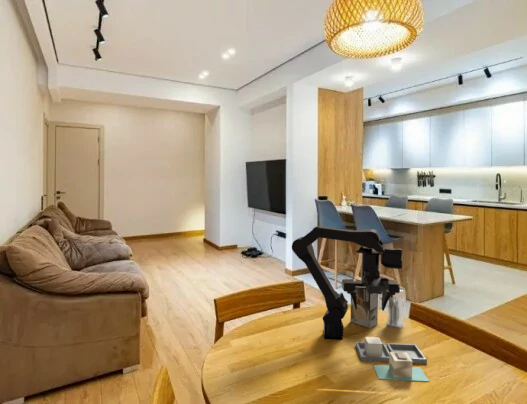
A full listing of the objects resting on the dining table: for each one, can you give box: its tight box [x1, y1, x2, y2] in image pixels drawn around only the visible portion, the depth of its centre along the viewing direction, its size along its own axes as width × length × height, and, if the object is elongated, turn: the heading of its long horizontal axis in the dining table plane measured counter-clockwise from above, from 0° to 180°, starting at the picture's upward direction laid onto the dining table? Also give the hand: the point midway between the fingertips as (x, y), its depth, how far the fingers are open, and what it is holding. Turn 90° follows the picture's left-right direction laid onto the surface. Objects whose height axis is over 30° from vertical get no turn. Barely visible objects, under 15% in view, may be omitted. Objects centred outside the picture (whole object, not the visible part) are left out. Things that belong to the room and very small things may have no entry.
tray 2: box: [386, 342, 428, 365], centre depth 111 cm, size 10×10×2 cm
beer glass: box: [386, 285, 407, 329], centre depth 134 cm, size 7×7×15 cm
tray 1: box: [355, 341, 390, 363], centre depth 112 cm, size 10×10×2 cm
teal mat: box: [372, 364, 430, 383], centre depth 101 cm, size 14×7×1 cm, turn 85°
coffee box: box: [350, 279, 379, 329], centre depth 136 cm, size 9×6×16 cm
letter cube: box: [388, 352, 414, 378], centre depth 100 cm, size 5×5×5 cm
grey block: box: [364, 336, 383, 356], centre depth 112 cm, size 4×4×4 cm
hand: (369, 309), depth 119 cm, fingers open, 9 cm apart
